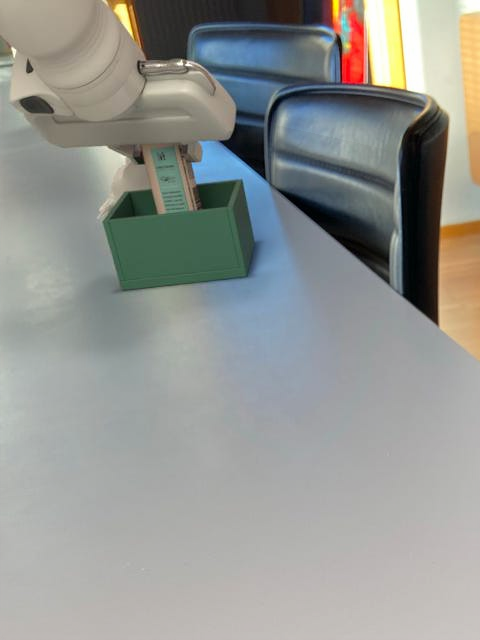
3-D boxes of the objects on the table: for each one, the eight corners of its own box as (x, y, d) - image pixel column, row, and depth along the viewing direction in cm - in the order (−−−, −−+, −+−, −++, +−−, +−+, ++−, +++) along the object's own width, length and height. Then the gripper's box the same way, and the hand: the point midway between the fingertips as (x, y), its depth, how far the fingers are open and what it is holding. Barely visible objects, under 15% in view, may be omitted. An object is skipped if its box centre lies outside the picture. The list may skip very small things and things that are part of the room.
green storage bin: (121, 290, 107) (102, 221, 103) (141, 255, 118) (124, 191, 114) (247, 276, 108) (232, 207, 104) (255, 243, 118) (242, 178, 114)
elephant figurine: (105, 227, 130) (84, 151, 125) (200, 214, 132) (183, 139, 126) (100, 246, 122) (78, 167, 117) (201, 232, 124) (183, 154, 119)
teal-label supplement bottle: (193, 216, 113) (164, 95, 106) (213, 222, 110) (184, 98, 103) (153, 226, 111) (121, 103, 103) (172, 233, 108) (141, 107, 100)
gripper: (202, 27, 92) (264, 125, 105) (3, 42, 96) (88, 134, 109) (193, 92, 91) (257, 182, 104) (-7, 104, 95) (79, 188, 109)
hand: (169, 157), depth 107 cm, fingers closed on teal-label supplement bottle, 5 cm apart
